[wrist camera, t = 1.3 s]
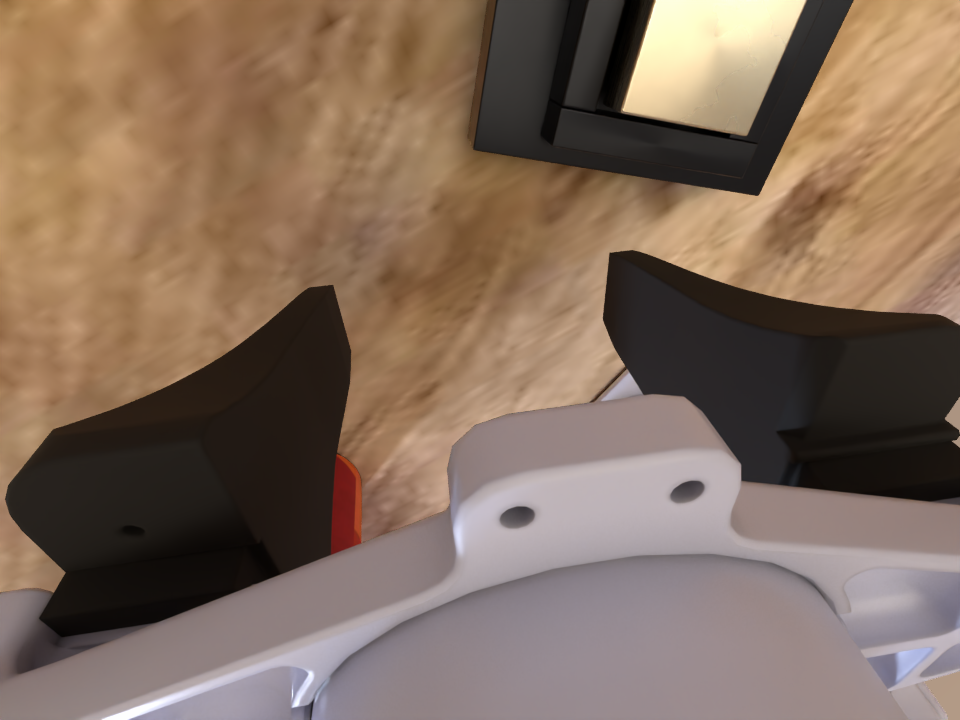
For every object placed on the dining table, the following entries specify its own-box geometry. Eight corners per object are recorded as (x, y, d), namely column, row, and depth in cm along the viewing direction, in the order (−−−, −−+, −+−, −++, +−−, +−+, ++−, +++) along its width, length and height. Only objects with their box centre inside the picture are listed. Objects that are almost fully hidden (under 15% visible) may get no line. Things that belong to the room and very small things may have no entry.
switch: (784, -33, 15) (825, -38, 13) (719, 126, 17) (747, 137, 16) (650, -69, 14) (677, -79, 12) (601, 104, 16) (620, 113, 15)
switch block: (848, -83, 17) (953, -106, 14) (730, 181, 22) (786, 210, 19) (514, -184, 15) (544, -241, 11) (467, 137, 20) (478, 162, 16)
